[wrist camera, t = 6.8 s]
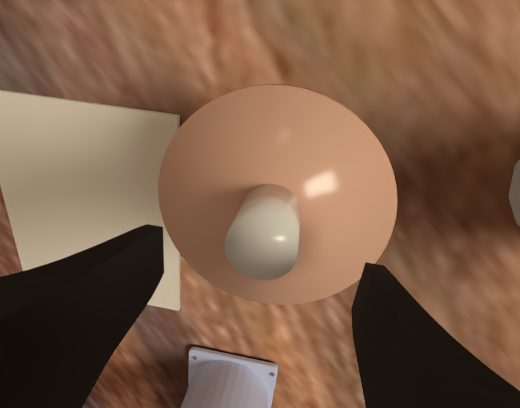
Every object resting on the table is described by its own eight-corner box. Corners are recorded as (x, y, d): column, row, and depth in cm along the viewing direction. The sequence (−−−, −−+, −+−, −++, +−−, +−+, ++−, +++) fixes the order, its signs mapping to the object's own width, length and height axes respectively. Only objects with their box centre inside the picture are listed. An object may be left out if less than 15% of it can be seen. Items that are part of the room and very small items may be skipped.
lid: (359, 313, 16) (371, 380, 12) (165, 275, 16) (129, 328, 13) (429, 103, 11) (475, 121, 8) (161, 68, 12) (106, 70, 9)
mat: (180, 307, 27) (178, 310, 26) (28, 277, 28) (25, 280, 28) (179, 114, 20) (177, 115, 20) (-21, 86, 21) (-26, 87, 21)
